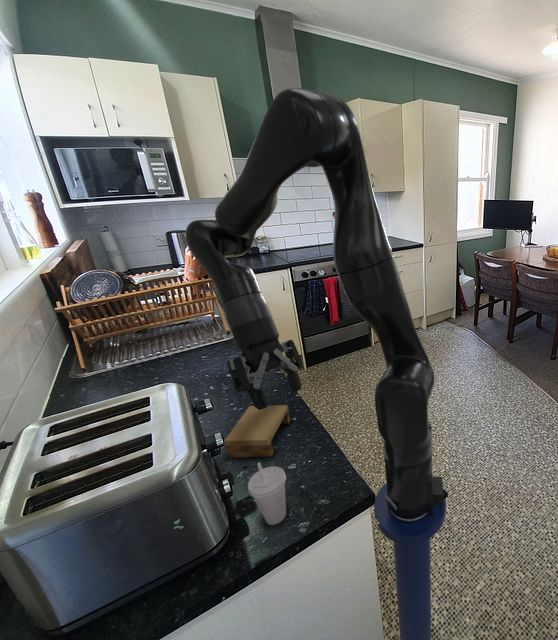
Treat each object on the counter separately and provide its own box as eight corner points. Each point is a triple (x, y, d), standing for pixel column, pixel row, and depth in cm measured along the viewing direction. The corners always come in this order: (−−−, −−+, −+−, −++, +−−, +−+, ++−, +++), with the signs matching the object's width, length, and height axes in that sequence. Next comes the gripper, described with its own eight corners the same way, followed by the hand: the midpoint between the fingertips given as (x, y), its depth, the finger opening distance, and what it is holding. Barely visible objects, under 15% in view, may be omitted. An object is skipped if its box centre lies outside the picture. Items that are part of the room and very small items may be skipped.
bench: (290, 420, 93) (287, 405, 91) (271, 456, 81) (267, 440, 79) (253, 420, 93) (249, 405, 91) (229, 457, 81) (223, 440, 79)
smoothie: (252, 516, 67) (236, 461, 62) (284, 495, 71) (272, 443, 66) (266, 538, 63) (250, 482, 58) (299, 515, 67) (287, 461, 62)
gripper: (229, 323, 58) (264, 412, 59) (292, 309, 71) (319, 382, 72) (203, 334, 61) (237, 418, 62) (268, 319, 74) (294, 388, 75)
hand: (281, 399), depth 67 cm, fingers open, 8 cm apart
